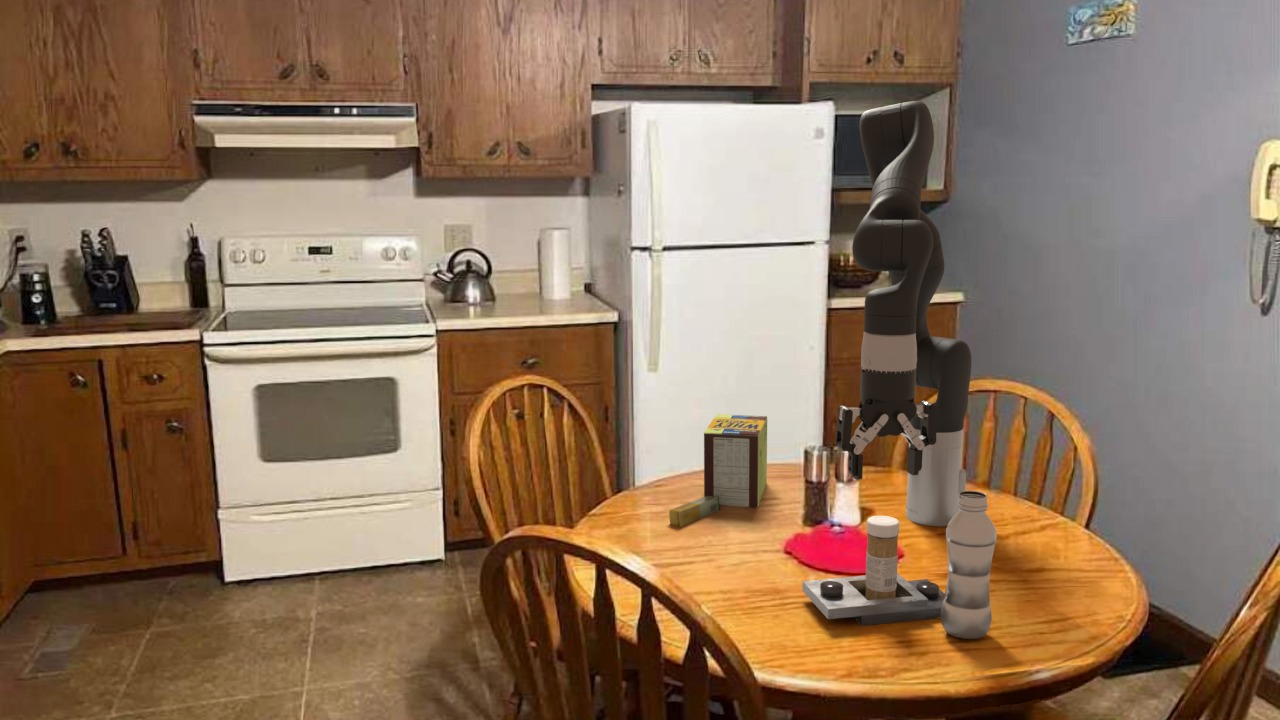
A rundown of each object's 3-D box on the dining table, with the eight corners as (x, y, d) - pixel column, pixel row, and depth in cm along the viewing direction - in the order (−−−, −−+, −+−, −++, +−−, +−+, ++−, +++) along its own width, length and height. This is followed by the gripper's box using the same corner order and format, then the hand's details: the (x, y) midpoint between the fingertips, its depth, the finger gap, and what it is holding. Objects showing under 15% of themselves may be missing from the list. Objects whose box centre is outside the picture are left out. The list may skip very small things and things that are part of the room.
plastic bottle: (932, 625, 140) (938, 488, 136) (979, 623, 140) (986, 486, 137) (950, 646, 134) (957, 503, 130) (999, 644, 134) (1007, 501, 130)
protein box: (766, 490, 201) (768, 415, 198) (758, 515, 186) (759, 434, 183) (715, 487, 203) (715, 413, 200) (702, 511, 188) (702, 432, 186)
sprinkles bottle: (887, 599, 148) (890, 513, 146) (901, 612, 144) (905, 523, 142) (858, 602, 147) (861, 515, 145) (872, 615, 143) (875, 526, 141)
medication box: (709, 515, 187) (708, 494, 187) (721, 516, 185) (720, 495, 185) (669, 531, 178) (668, 509, 178) (681, 533, 176) (680, 511, 176)
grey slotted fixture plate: (896, 581, 151) (897, 565, 151) (927, 609, 141) (928, 591, 141) (802, 590, 148) (802, 573, 148) (828, 619, 139) (828, 601, 138)
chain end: (926, 588, 152) (927, 571, 152) (959, 615, 143) (960, 598, 142) (833, 597, 149) (834, 580, 149) (861, 625, 140) (862, 607, 139)
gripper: (922, 357, 144) (918, 465, 147) (830, 361, 141) (827, 472, 144) (948, 366, 137) (943, 480, 140) (851, 371, 134) (848, 487, 137)
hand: (884, 476), depth 142 cm, fingers open, 8 cm apart
